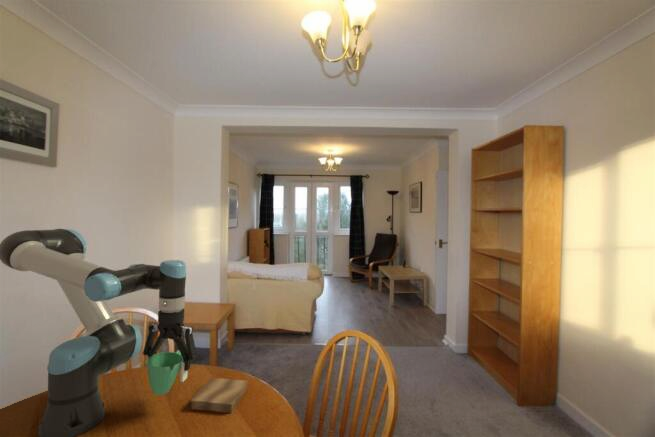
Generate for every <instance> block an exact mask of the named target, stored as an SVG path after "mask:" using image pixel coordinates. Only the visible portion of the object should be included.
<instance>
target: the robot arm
mask: <svg viewBox="0 0 655 437" xmlns="http://www.w3.org/2000/svg"><path fill="white" fill-rule="evenodd" d="M86 246H87V242H86V240H85V237H83V235H82V234H81V233H80V232H78V231H76V230H74V229H69V228H67V229H66V228H55V229H38V230H37V229H35V230H27V229H26V230H20V231H16V232H14V233H11V234H9V235H7V236H6V237H5V238H4V239H2V240H1V242H0V262H1V263H2V264H4V265H5V266H7V267H9V268H10V269H13V270H15V271H18V272H29V271H30V272H32V273H36V274H38V275H41V276H44V277H46V278H50V279H53V280H55V281H57V283H58V285H59V286H60V288H61V290H62V291H63V293H64V295H65V297H66V298H67V300H68V303H69V304H70V305H71V307H72V309H73V311H74V312H75V314H76V316H77V317H78V319H79V321H80V323H81V324H82V326H83V328H84V329H85V331H86V335H85V336H80V337H78V338H72V339H70V340H66V341H65V342H63V343H60V344H59V345H58V346H56V347H54V348H53V349H52V351H51V352H50V354H49V357H48V364H47V370H46V371H47V403H46V404H47V405H46V407H45V409H44V412H43V414H42V418H41V419H40V421H39V424H38V437H77V436H79V435H81V434H84V433H85V432H88V431H90V430H91V429H93V428H94V427H95V426H97V425H98V424H100V423H101V421H102V420H103V419H104V417H105V415H106V405H105V403H104V401H103V398H102V394H101V393H100V390H99V384H100V383H99V381H100V377H101V376H103V375H105V374H107V373H108V372H111V371H112V370H114V369H116V368H118V367H120V366H121V365H124V364H127V363H128V362H129V361H130V360H132V359H133V358H135V357H136V356H138V354H139V352H140V351H141V349H142V344H143V336H142V332H141V331H140V328H138V327H137V326H136V325H133V324H131V323H130V324H129V323H128V324H127V323H126V322H125V321H124V319H123V318H121V317H116V316H115V314H114V312H113V310H112V309H111V307H110V306H109V304H108V303H107V301H109V300H113V299H115V298H117V297H118V298H119V297H122V296H124V295H128V294H131V293H135V292H137V291H138V292H139V291H142V290H147V289H149V290H156V291H157V290H158V310H159V311H158V312H157V313H158V315H157V316H158V317H157V322H158V323H156V322H154V323H152V324H149V326H148V335H147V338H146V341H145V344H144V349H143V351H142V355H143V356H147V357H148V359H149V358H150V357H151V356H153V355H155V354H158V351H159V350H160V348H161V346H162V344H163V343H164V341H165V340H166V339H169V340H173V342H174V343H175V344H176V346H177V349H178V350H179V351H180V353H181V355H182V357H183V361H181V368H180V383H183V382H184V381H185V380H186V379H188V376H189V375H188V374H189V373H188V372H189V371H188V370H190V368H191V361H193V359H195V358H196V357H197V353H198V352H197V349H196V345H195V339H194V336H193V332H194V327H193V326H189V327H188V326H185V325H184V321H185V309H184V308H185V307H186V306H185V305H186V279H187V264H186V262H184V261H183V260H178V259H177V260H175V259H173V260H171V259H169V260H164V261H161V262H160V265H153V264H146V263H134V264H130V266H128V267H127V268H124V269H118V270H114V269H109V268H106V267H103V266H101V265H98V264H94V263H92V262H89V261H85V258H86V255H85V254H86V251H87V247H86ZM157 332H159V334H158V337H157ZM156 337H157V338H156ZM154 342H155V343H154Z"/></svg>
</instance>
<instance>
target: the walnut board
mask: <svg viewBox="0 0 655 437" xmlns="http://www.w3.org/2000/svg"><path fill="white" fill-rule="evenodd" d="M248 383H249V381H248V380H241V379H232V378H220V377H210V378H209V379H208V380H207V381H206V382H205V383H204V385H203V386H202V387H201V388H200V389H199V390H198V391H197V392H196V393H195V394H194V395H193V397H192V398H191V399H189V400H190V401H189V402H190V405H191V410H199V411H207V412H217V413H218V412H219V413H227V414H232V413H233V411H234V410H235V408H236V407H237V405H238V404H239V402H240V401H241V399H242V398H243V396H244V394H245V393H246V392H247V389H248Z"/></svg>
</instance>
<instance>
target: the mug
mask: <svg viewBox="0 0 655 437" xmlns="http://www.w3.org/2000/svg"><path fill="white" fill-rule="evenodd" d="M181 361H183V357H182V355H181V353H180V351H179V349H178V350H176V351H174V352H173V351H164V352H157V354H155V355H153V356H151V357H150V358H149V357H148V359H147V363H146V364H147V365H146V367H147V375H148V382H149V385H150V388H151V392H152V394H154V395H156V396H162V395H165V394H168V393H169V392H170V390H171V388H172V387H173V384H174V383H175V382H176V378H177V376H178V373H179V372H180V371H181Z"/></svg>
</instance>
